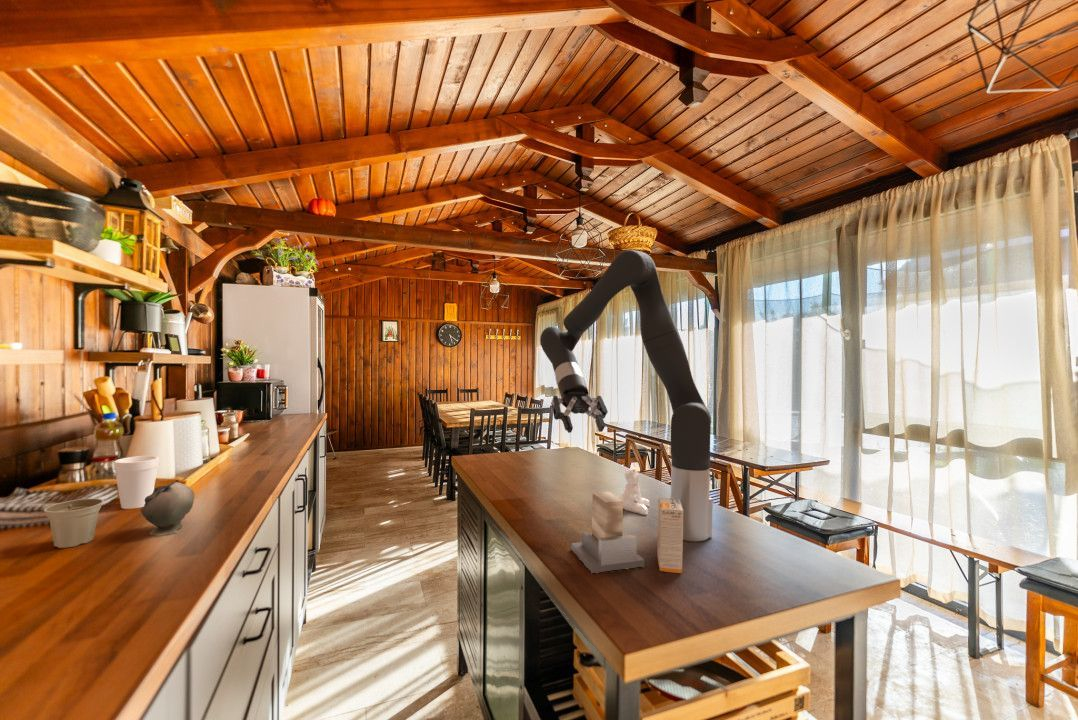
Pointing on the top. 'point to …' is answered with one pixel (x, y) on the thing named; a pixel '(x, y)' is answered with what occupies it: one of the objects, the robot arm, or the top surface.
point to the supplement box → (670, 535)
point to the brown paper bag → (606, 515)
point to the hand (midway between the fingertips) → (586, 430)
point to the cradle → (608, 552)
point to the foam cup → (135, 479)
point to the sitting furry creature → (634, 494)
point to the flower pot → (73, 521)
